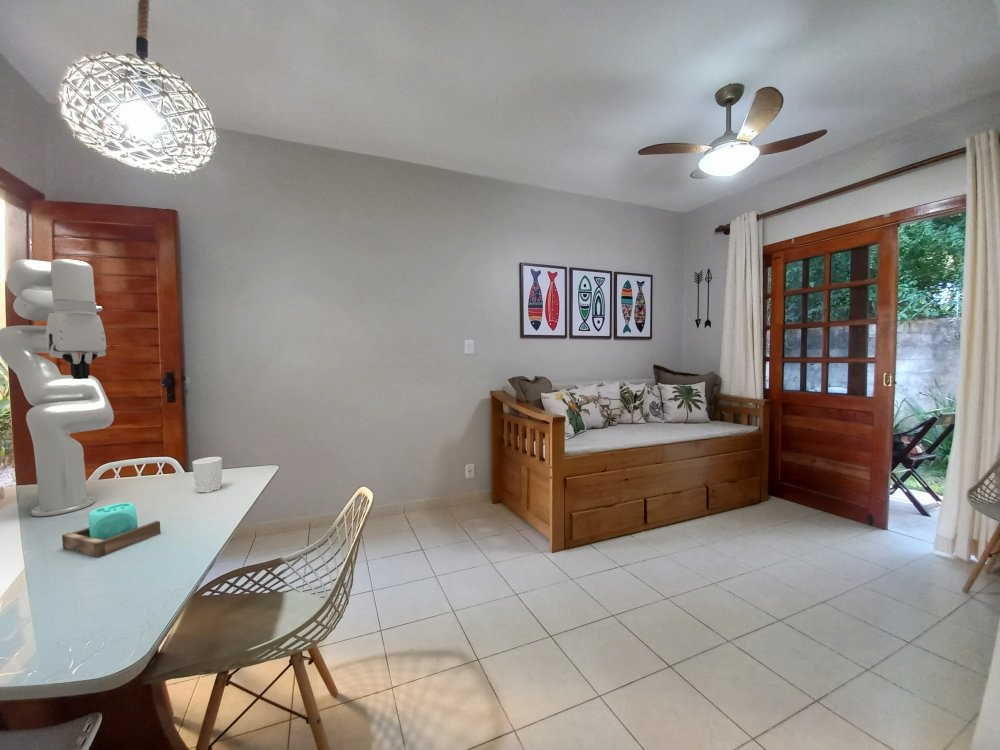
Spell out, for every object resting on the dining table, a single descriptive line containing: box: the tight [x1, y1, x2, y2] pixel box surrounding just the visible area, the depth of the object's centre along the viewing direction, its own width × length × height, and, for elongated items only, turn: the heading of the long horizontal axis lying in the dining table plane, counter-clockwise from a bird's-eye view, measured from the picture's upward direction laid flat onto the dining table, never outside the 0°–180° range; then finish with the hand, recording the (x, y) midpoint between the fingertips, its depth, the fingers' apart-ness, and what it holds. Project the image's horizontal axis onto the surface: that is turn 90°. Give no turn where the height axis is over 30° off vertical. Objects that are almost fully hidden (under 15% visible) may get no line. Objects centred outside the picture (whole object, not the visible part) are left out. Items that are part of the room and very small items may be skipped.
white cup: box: [191, 456, 223, 493], centre depth 130 cm, size 8×8×10 cm
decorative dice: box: [87, 502, 139, 540], centre depth 95 cm, size 8×8×8 cm
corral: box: [61, 520, 162, 558], centre depth 95 cm, size 13×12×3 cm
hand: (81, 378), depth 103 cm, fingers closed
